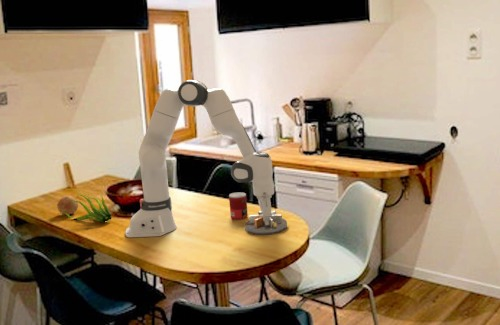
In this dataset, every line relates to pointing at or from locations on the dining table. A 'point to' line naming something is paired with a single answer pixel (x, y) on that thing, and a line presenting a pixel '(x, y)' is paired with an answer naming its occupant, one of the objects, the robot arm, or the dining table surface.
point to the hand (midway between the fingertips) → (265, 220)
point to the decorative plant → (94, 210)
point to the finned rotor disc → (260, 219)
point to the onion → (67, 205)
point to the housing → (266, 228)
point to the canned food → (238, 205)
